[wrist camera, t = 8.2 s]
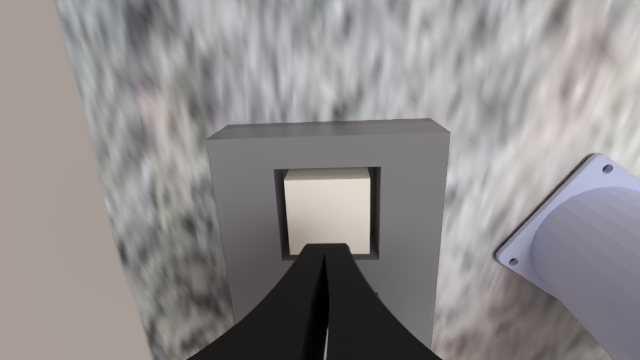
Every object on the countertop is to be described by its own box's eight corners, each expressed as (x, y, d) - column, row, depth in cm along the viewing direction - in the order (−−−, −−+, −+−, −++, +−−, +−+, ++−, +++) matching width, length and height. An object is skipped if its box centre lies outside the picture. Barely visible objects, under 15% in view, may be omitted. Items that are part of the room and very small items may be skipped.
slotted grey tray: (228, 125, 19) (205, 139, 16) (430, 118, 18) (450, 132, 15) (266, 406, 26) (256, 456, 23) (410, 409, 26) (420, 460, 23)
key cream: (290, 164, 18) (284, 180, 16) (365, 162, 18) (370, 178, 16) (295, 230, 20) (290, 254, 17) (365, 229, 19) (369, 253, 17)
